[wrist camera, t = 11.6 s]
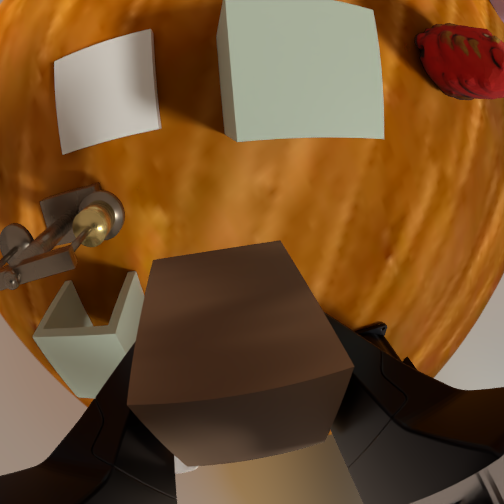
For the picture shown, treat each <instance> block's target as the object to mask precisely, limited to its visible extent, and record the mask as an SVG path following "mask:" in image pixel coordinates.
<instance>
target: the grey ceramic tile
mask: <svg viewBox="0 0 504 504" xmlns="http://www.w3.org/2000/svg"><path fill="white" fill-rule="evenodd" d="M54 80H55V99H56V110H57V120H58V128H59V136H60V142H61V149H62V155H64V154H67V153H70V152H73V151H76V150H79V149H82V148H85V147H89V146H92V145H95V144H99V143H102V142H106V141H109V140H113V139H117V138H121V137H125V136H129V135H133V134H138V133H142V132H147V131H151V130H156V129H161V122H160V113H159V104H158V93H157V82H156V70H155V55H154V34H153V32H152V30H151V29H148V30H143V31H139V32H135V33H131V34H128V35H124V36H120V37H117V38H114V39H111V40H107V41H104V42H101V43H98V44H96V45H93V46H90V47H87V48H85V49H82V50H80V51H77V52H75V53H72V54H70V55H67V56H65V57H63V58H61V59H58V60H56V61H54Z"/></svg>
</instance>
